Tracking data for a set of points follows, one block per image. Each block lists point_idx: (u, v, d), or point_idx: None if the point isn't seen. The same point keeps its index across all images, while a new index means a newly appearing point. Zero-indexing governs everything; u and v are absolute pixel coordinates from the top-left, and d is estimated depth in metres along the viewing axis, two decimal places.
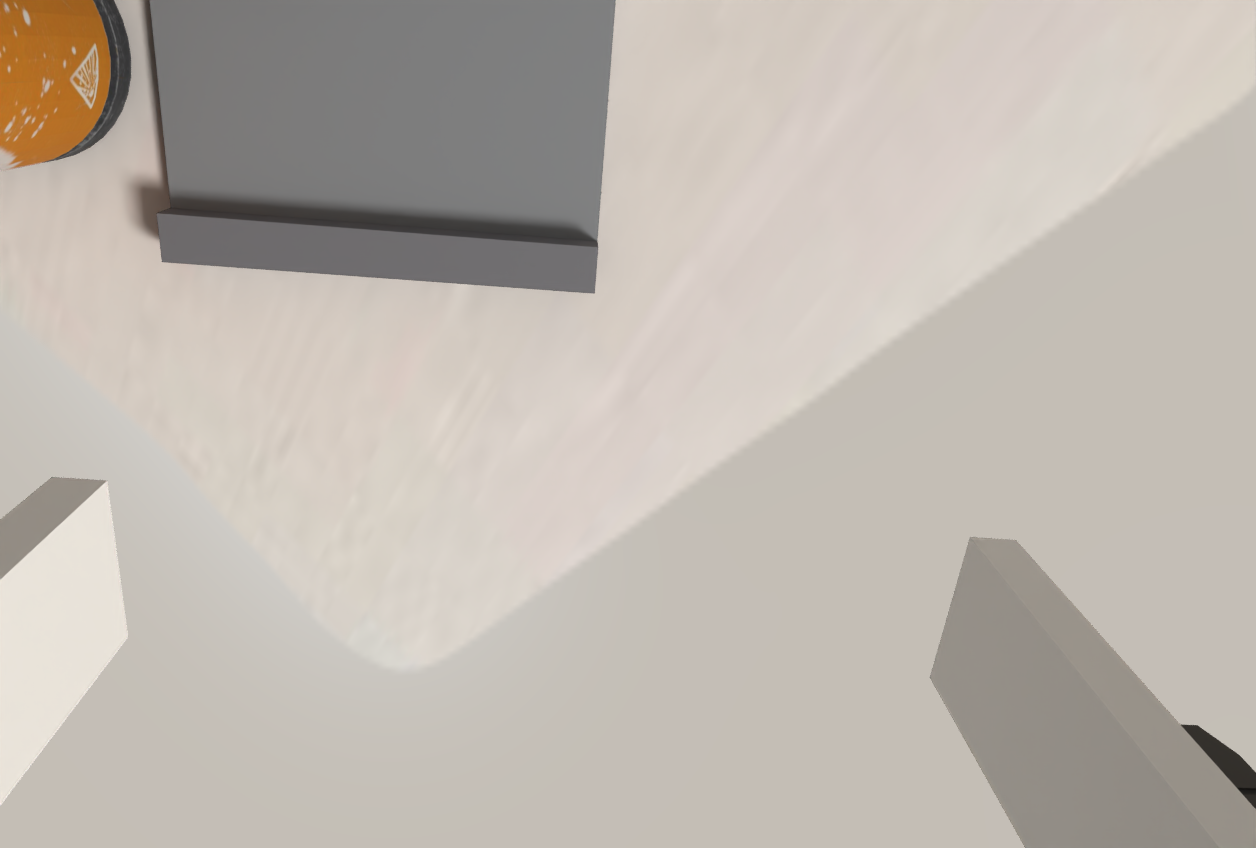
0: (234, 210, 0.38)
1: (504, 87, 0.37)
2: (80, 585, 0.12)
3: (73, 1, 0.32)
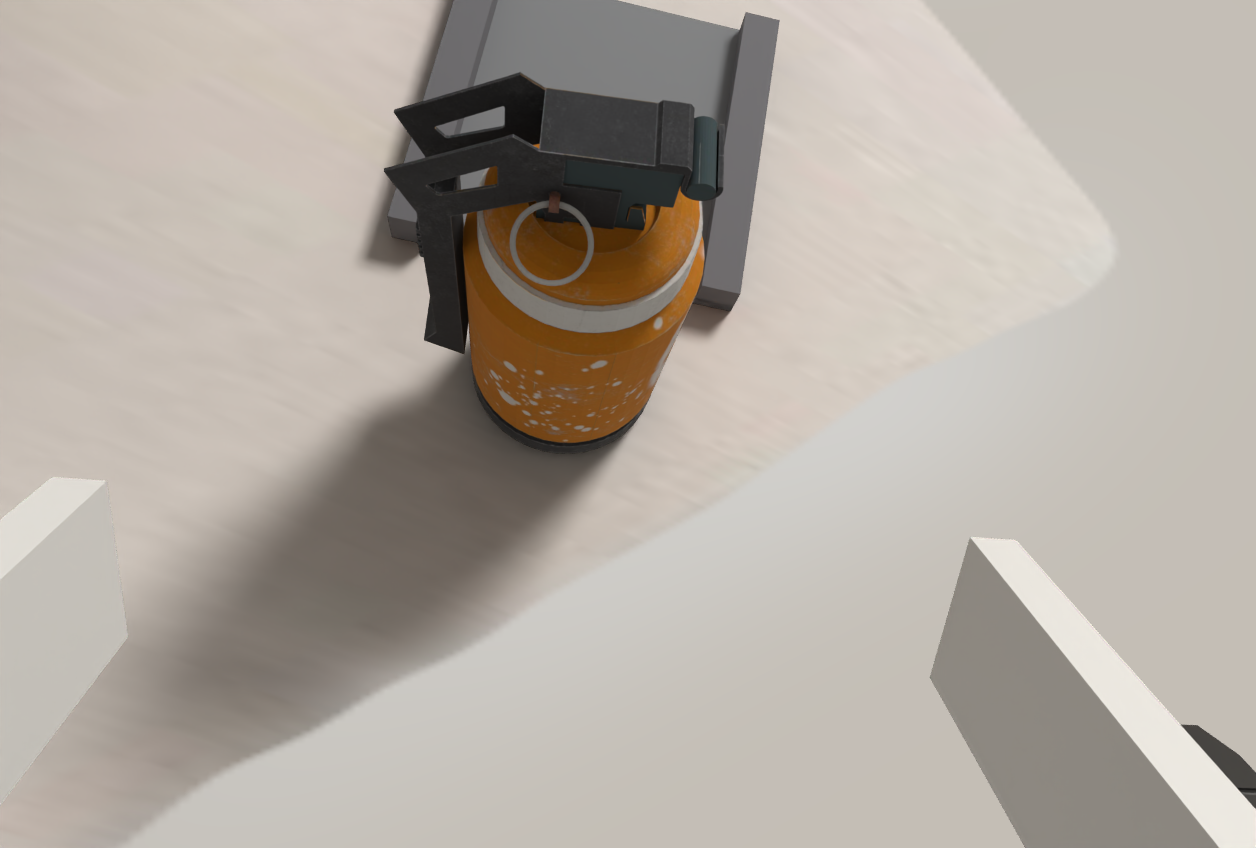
0: None
1: (628, 63, 0.51)
2: (80, 585, 0.12)
3: None
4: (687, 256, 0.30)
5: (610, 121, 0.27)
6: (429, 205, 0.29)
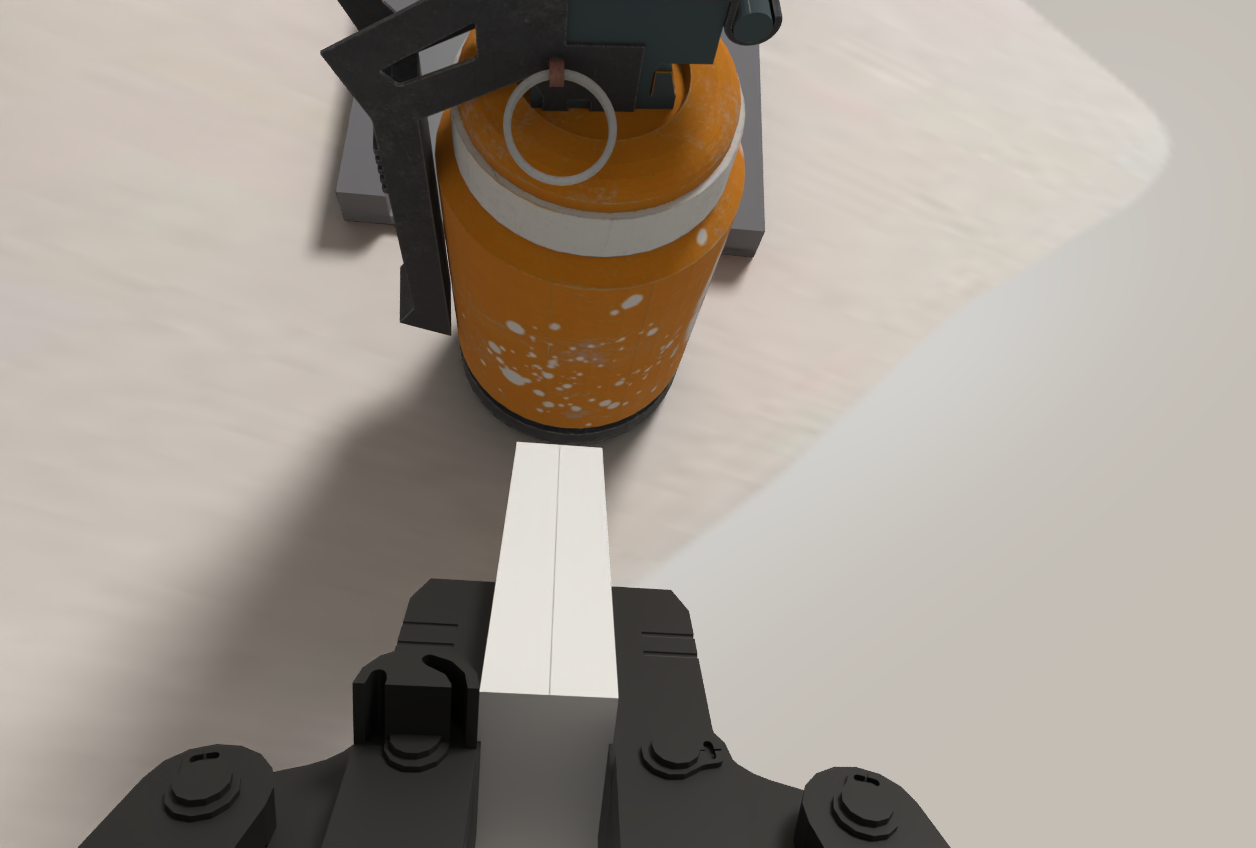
0: None
1: None
2: None
3: None
4: (733, 137, 0.23)
5: None
6: (388, 105, 0.22)
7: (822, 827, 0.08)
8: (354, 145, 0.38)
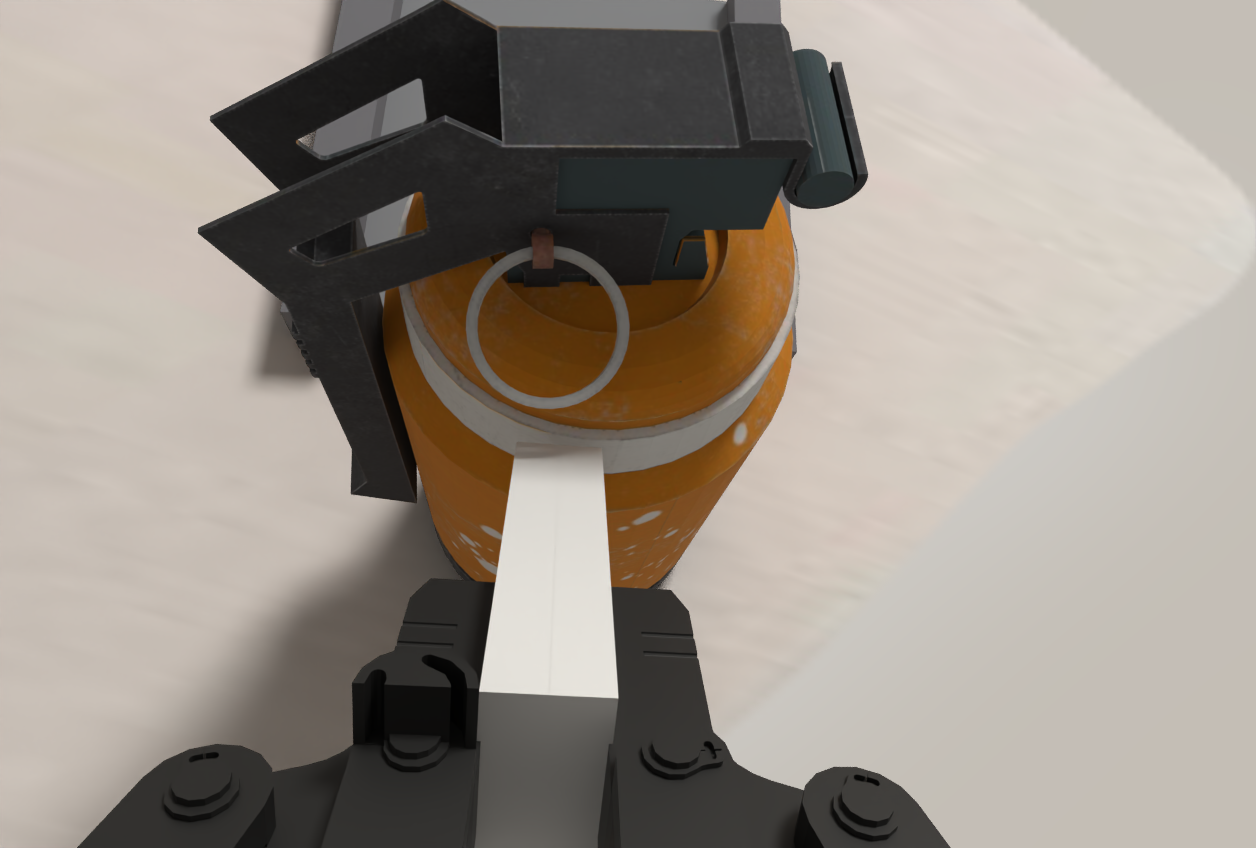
0: None
1: None
2: None
3: None
4: None
5: (635, 74, 0.13)
6: (305, 287, 0.15)
7: (822, 827, 0.08)
8: None
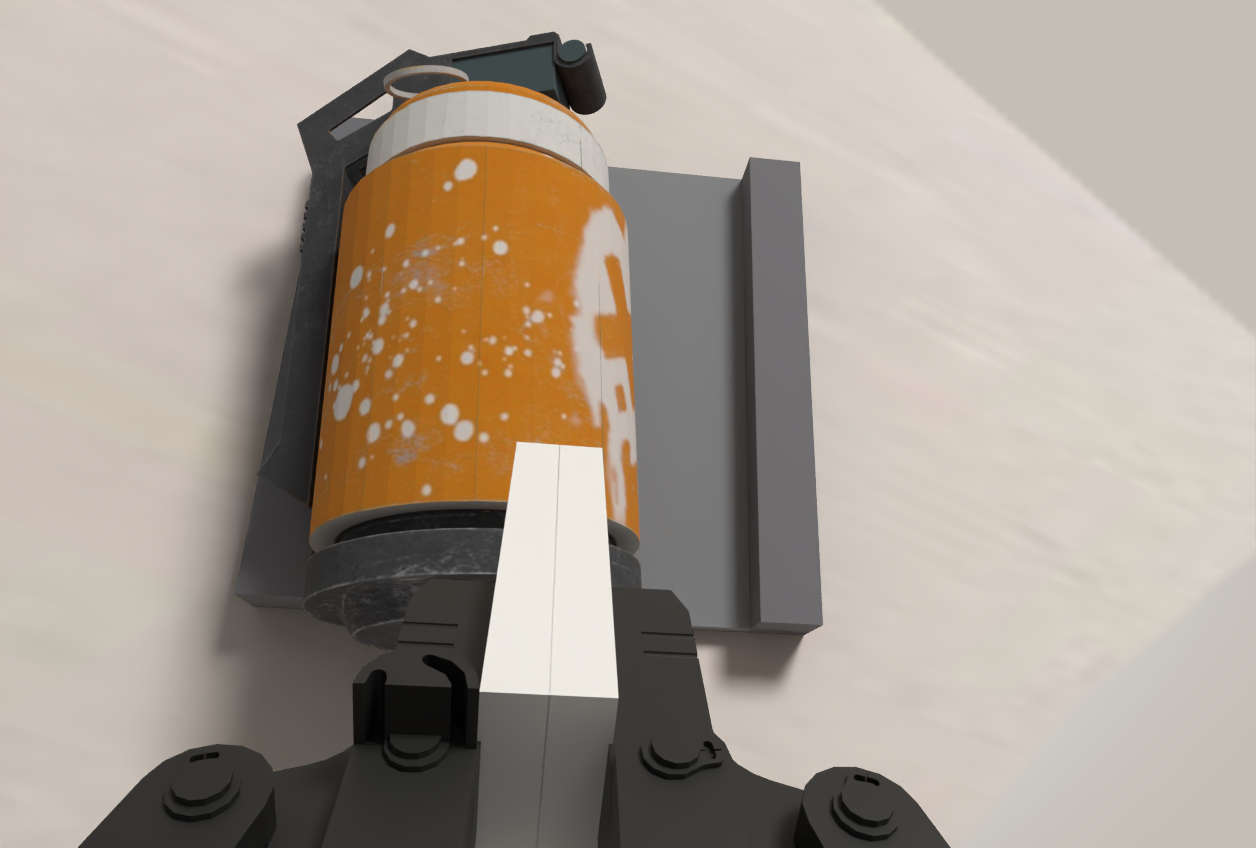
0: (746, 551, 0.30)
1: None
2: None
3: None
4: (577, 122, 0.28)
5: None
6: (326, 157, 0.30)
7: (822, 827, 0.08)
8: (264, 516, 0.28)
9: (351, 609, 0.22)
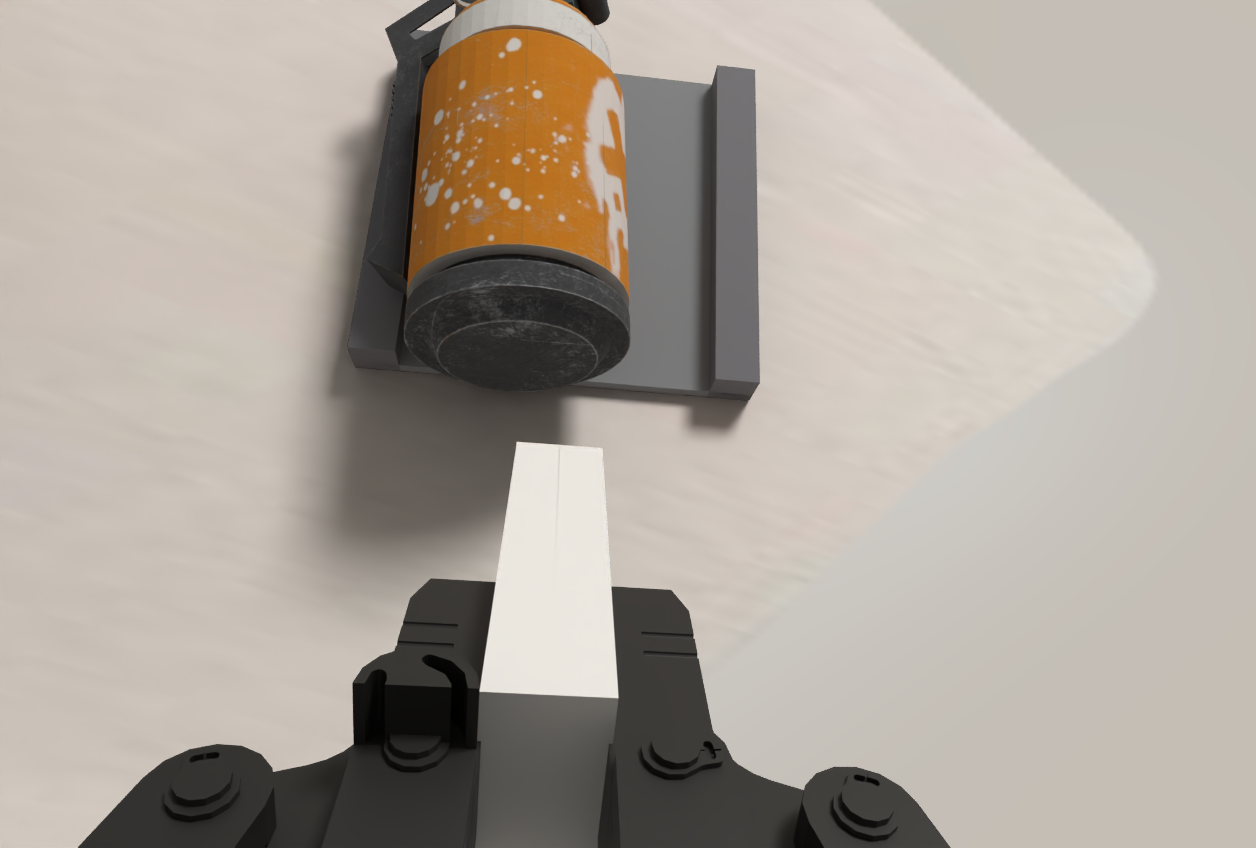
0: (707, 340, 0.42)
1: None
2: None
3: None
4: None
5: None
6: (407, 51, 0.41)
7: (822, 827, 0.08)
8: (366, 298, 0.39)
9: (438, 324, 0.34)
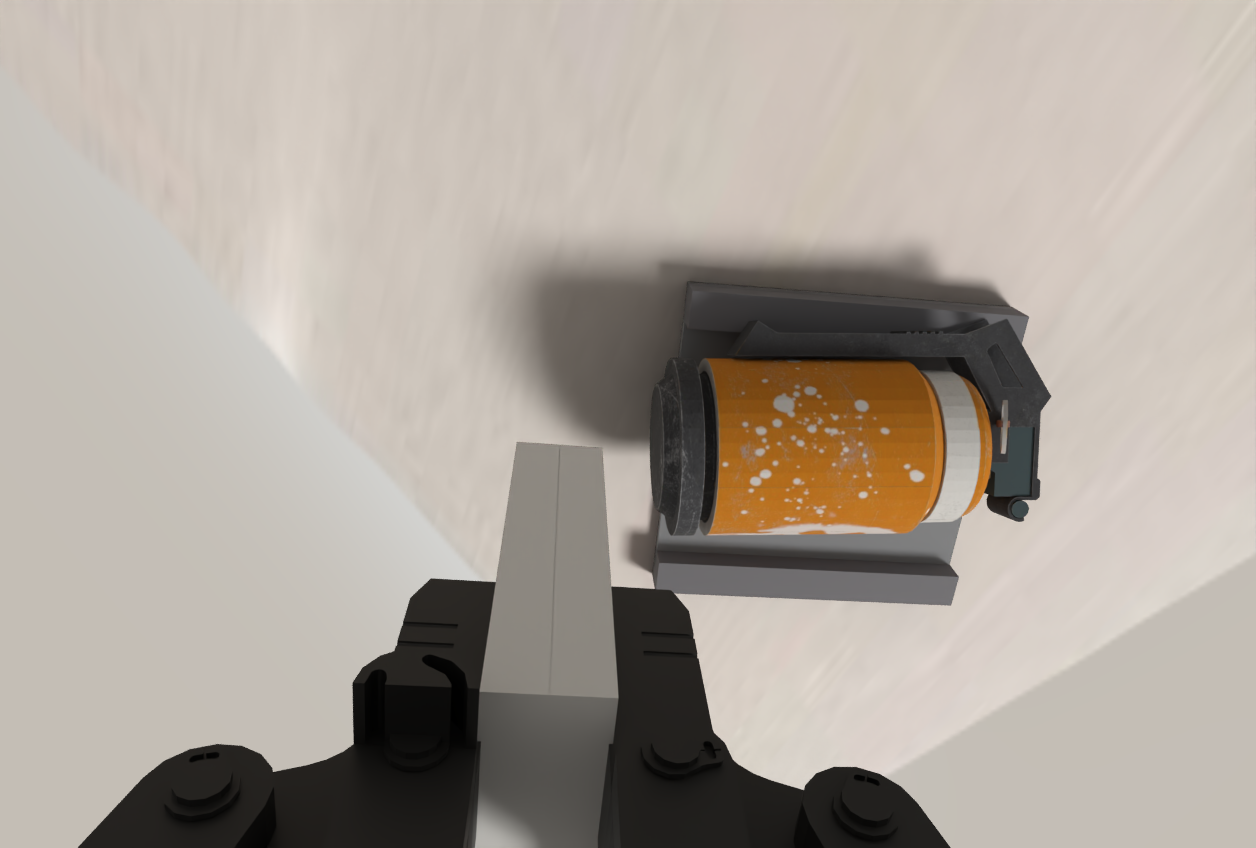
0: (700, 551, 0.53)
1: None
2: None
3: None
4: (960, 515, 0.45)
5: None
6: (974, 343, 0.45)
7: (822, 827, 0.08)
8: (738, 302, 0.46)
9: (672, 405, 0.42)
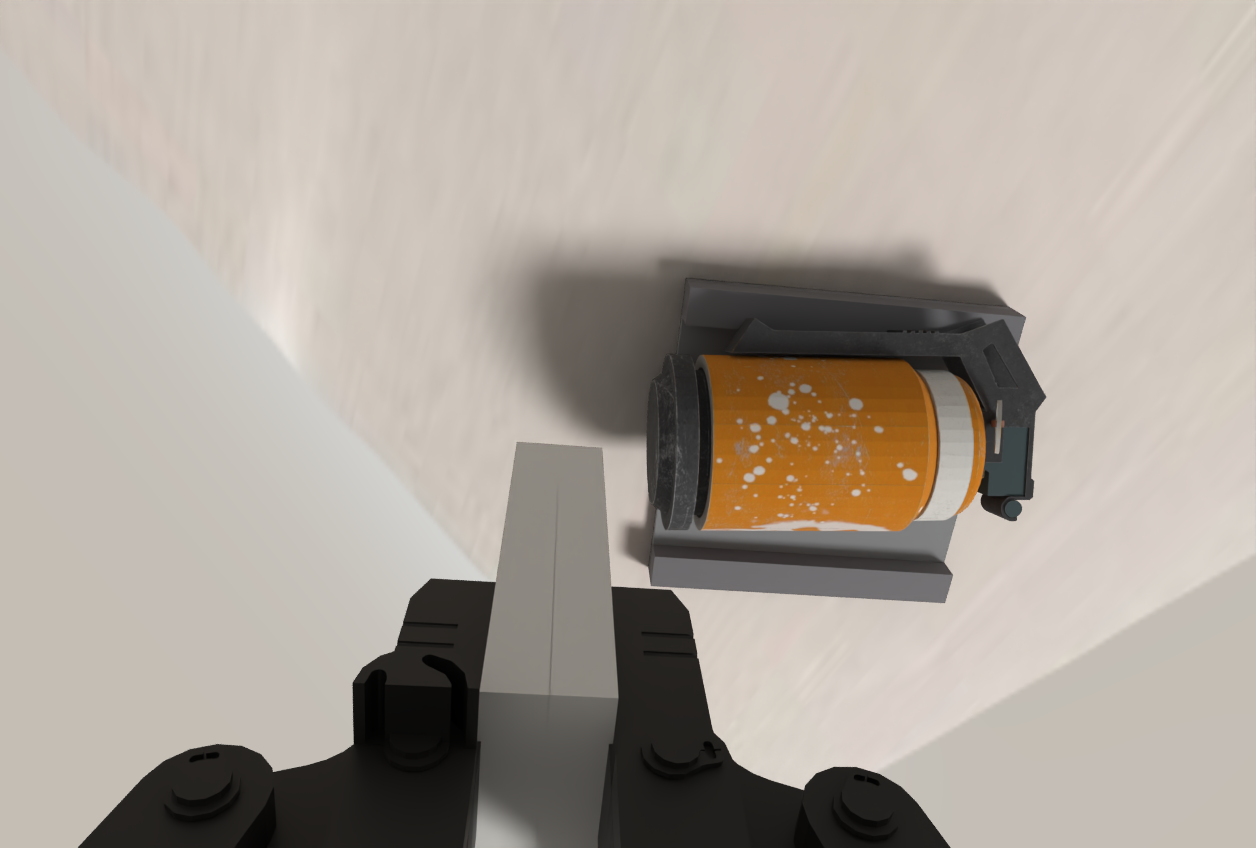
0: (696, 545, 0.53)
1: None
2: None
3: None
4: (953, 514, 0.45)
5: None
6: (970, 343, 0.45)
7: (822, 827, 0.08)
8: (735, 299, 0.46)
9: (667, 401, 0.43)
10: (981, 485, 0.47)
